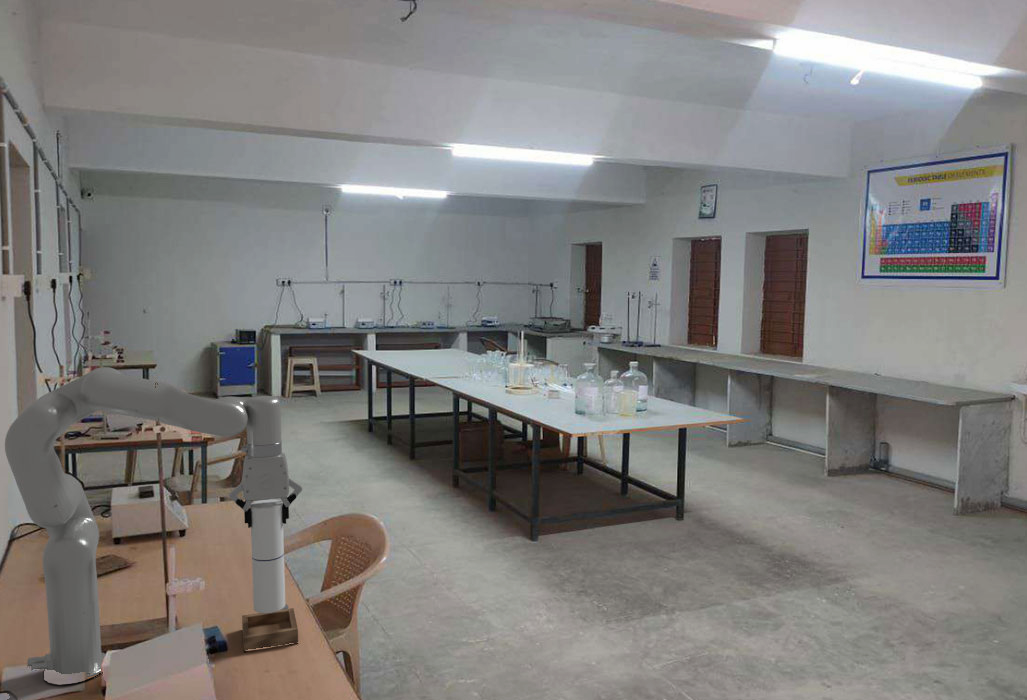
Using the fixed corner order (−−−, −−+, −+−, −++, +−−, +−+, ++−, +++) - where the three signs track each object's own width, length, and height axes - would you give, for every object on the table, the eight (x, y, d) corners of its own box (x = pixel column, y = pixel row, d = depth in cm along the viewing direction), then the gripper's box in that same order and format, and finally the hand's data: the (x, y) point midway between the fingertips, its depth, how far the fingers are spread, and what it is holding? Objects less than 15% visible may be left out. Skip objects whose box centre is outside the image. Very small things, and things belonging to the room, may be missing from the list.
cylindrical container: (252, 614, 176) (249, 509, 174) (254, 601, 183) (251, 500, 180) (284, 611, 178) (282, 507, 175) (285, 598, 185) (282, 498, 182)
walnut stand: (243, 652, 173) (243, 637, 173) (242, 629, 185) (242, 615, 184) (298, 643, 178) (297, 629, 177) (293, 621, 189) (293, 608, 189)
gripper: (224, 456, 170) (227, 533, 172) (305, 450, 176) (306, 524, 178) (224, 449, 177) (227, 523, 179) (301, 443, 183) (303, 515, 185)
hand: (267, 523), depth 178 cm, fingers closed on cylindrical container, 7 cm apart
